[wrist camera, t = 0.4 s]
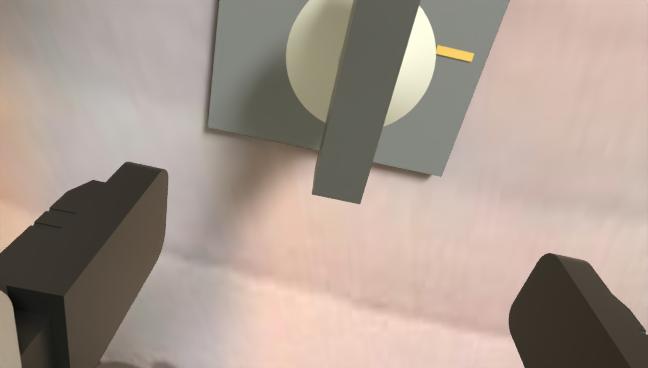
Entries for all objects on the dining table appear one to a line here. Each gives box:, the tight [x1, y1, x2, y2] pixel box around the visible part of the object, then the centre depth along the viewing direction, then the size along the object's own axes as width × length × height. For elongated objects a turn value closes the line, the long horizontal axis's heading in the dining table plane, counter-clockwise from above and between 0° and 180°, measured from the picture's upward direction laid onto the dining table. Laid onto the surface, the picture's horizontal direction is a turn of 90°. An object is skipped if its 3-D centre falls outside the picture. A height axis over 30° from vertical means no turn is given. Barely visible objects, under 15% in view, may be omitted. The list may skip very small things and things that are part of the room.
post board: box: [208, 0, 510, 177], centre depth 30 cm, size 20×20×8 cm
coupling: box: [286, 0, 436, 204], centre depth 23 cm, size 11×8×8 cm
